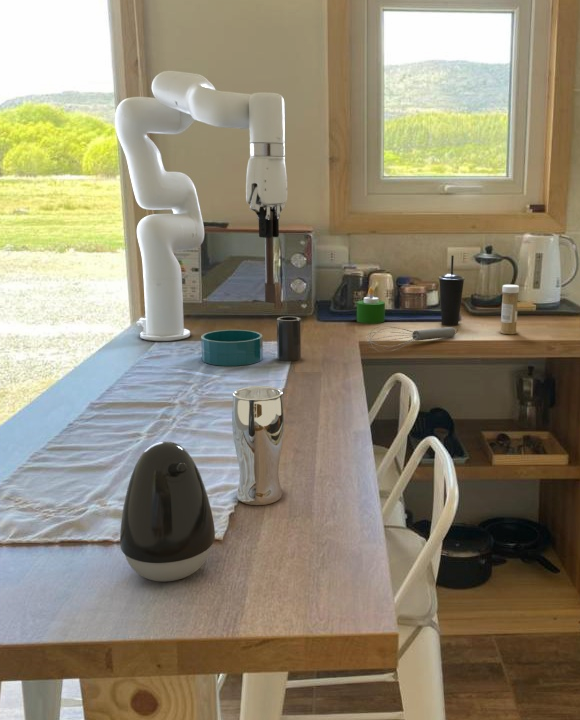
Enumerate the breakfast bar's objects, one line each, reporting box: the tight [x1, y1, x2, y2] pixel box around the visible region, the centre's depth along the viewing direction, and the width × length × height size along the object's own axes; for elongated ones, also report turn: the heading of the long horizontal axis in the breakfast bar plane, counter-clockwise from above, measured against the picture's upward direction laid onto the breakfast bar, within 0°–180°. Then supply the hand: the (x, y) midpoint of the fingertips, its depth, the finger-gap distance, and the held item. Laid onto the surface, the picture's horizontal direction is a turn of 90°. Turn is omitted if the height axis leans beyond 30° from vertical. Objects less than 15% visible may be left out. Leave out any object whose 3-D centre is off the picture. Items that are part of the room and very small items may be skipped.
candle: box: [356, 286, 386, 324], centre depth 237 cm, size 8×8×10 cm
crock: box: [276, 316, 302, 363], centre depth 187 cm, size 5×6×10 cm
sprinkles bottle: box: [499, 284, 520, 335], centre depth 223 cm, size 5×5×13 cm
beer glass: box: [231, 385, 285, 506], centre depth 110 cm, size 7×7×15 cm
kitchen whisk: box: [366, 325, 459, 353], centre depth 207 cm, size 6×34×6 cm, turn 136°
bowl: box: [200, 329, 264, 367], centre depth 186 cm, size 14×14×6 cm
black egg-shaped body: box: [119, 441, 216, 582], centre depth 89 cm, size 10×10×15 cm
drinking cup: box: [438, 254, 466, 326], centre depth 234 cm, size 8×8×20 cm
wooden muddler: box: [264, 212, 276, 304], centre depth 181 cm, size 2×2×20 cm
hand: (268, 236), depth 180 cm, fingers closed on wooden muddler, 1 cm apart
